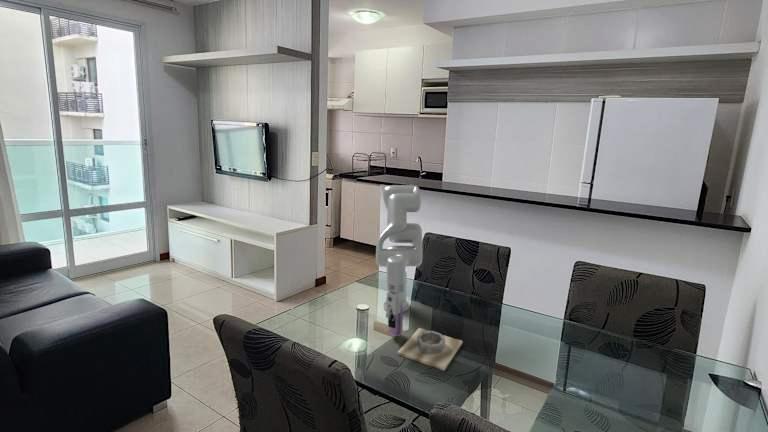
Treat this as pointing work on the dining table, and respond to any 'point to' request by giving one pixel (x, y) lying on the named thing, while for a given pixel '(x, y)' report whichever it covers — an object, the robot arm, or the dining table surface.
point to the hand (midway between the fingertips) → (395, 322)
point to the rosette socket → (431, 348)
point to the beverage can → (397, 323)
